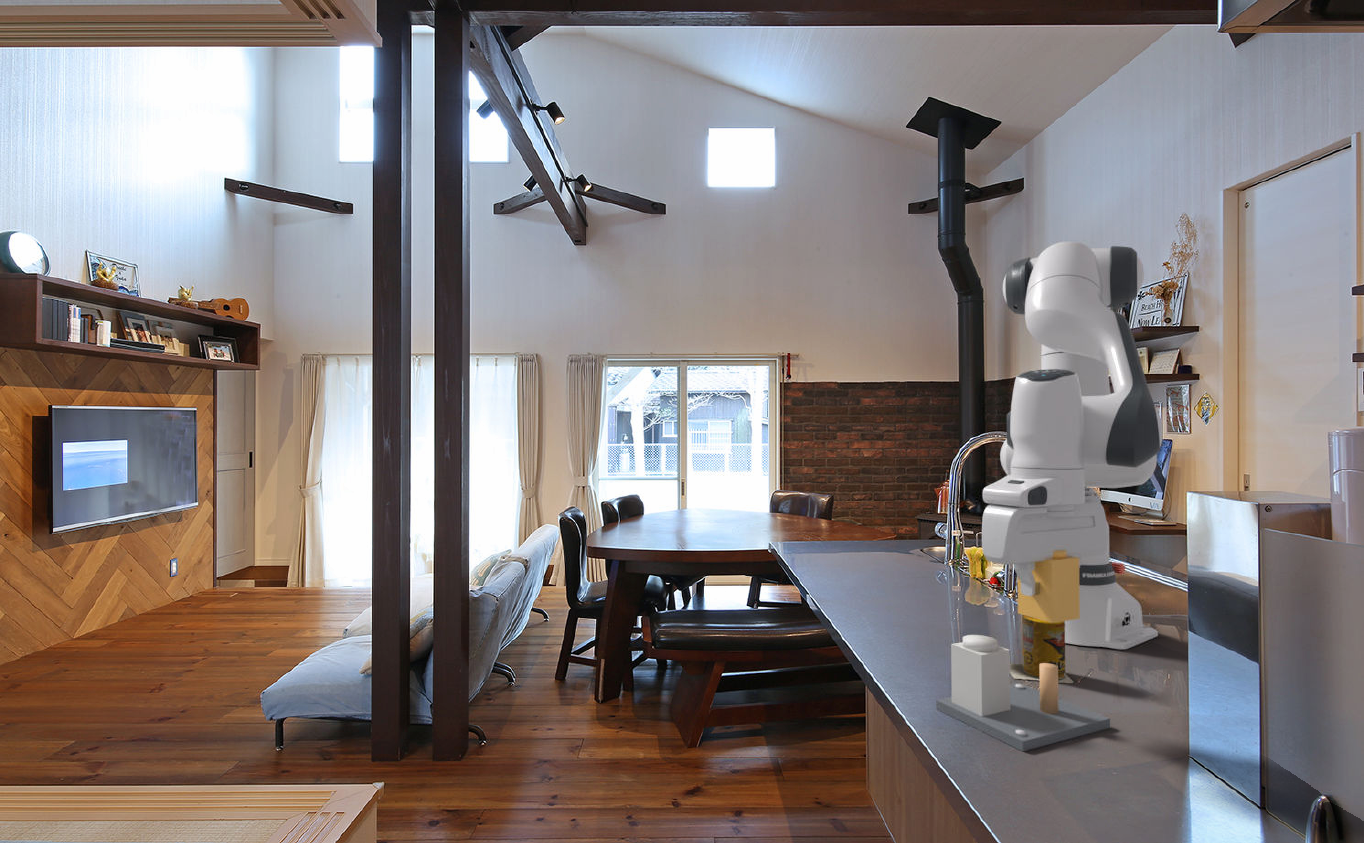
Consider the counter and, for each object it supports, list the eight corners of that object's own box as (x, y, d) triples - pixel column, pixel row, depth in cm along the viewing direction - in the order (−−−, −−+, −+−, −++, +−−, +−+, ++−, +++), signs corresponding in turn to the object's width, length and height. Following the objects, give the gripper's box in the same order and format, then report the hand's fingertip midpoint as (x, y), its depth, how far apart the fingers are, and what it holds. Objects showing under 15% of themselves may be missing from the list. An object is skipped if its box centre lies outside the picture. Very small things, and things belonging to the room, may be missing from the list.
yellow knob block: (1044, 609, 96) (1044, 544, 96) (1079, 618, 91) (1079, 550, 91) (1017, 613, 94) (1017, 546, 94) (1052, 622, 89) (1051, 552, 89)
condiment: (1074, 684, 105) (1073, 605, 106) (1014, 679, 107) (1013, 602, 108) (1059, 668, 113) (1058, 594, 113) (1003, 664, 114) (1002, 591, 115)
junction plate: (1018, 690, 103) (1017, 622, 103) (1110, 727, 90) (1109, 649, 90) (936, 708, 96) (935, 635, 96) (1022, 751, 83) (1021, 666, 83)
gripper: (1077, 485, 100) (1078, 581, 100) (972, 490, 92) (973, 594, 91) (1120, 488, 94) (1121, 590, 94) (1013, 494, 86) (1014, 605, 86)
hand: (1047, 592), depth 93 cm, fingers closed on yellow knob block, 5 cm apart
